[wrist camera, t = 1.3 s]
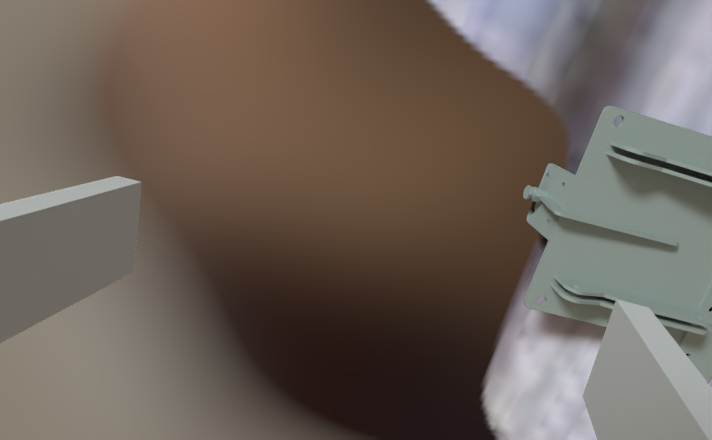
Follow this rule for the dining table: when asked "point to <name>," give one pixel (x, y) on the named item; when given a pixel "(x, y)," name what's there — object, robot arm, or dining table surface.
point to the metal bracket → (630, 230)
